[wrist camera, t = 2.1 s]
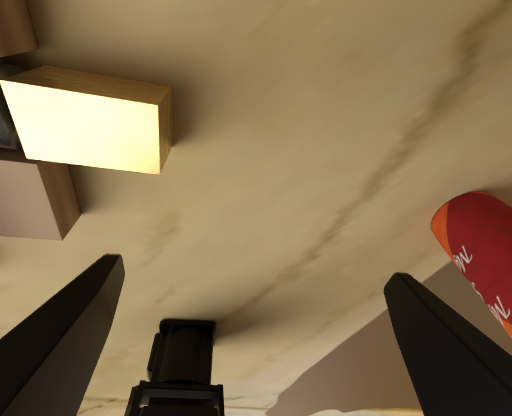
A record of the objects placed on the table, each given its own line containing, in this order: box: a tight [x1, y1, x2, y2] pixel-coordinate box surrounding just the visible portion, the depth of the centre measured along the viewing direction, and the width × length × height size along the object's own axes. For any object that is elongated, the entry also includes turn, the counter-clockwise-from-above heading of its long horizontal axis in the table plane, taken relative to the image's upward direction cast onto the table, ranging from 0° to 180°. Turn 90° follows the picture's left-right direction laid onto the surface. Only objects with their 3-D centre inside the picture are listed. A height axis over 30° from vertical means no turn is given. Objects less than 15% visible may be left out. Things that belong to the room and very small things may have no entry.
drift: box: [0, 65, 172, 174], centre depth 16 cm, size 7×4×4 cm, turn 79°
